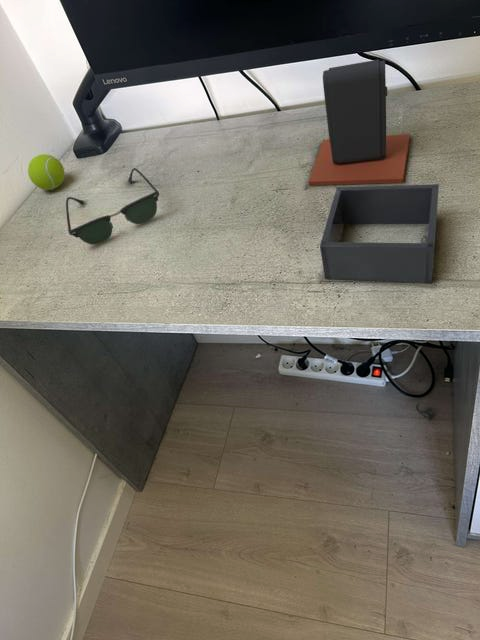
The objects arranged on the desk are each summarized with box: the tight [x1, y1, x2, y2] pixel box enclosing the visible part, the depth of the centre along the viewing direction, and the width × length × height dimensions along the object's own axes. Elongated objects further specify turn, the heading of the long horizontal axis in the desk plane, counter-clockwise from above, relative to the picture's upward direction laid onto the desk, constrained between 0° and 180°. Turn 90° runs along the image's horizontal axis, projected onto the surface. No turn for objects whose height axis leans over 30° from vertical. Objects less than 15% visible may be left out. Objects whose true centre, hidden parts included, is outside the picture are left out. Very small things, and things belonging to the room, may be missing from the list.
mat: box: [308, 133, 411, 186], centre depth 83 cm, size 15×13×1 cm
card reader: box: [322, 59, 388, 164], centre depth 77 cm, size 9×4×15 cm, turn 81°
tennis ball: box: [27, 153, 66, 191], centre depth 101 cm, size 7×7×7 cm
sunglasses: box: [65, 167, 160, 246], centre depth 89 cm, size 16×17×5 cm
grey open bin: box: [319, 183, 440, 284], centre depth 66 cm, size 14×13×6 cm
